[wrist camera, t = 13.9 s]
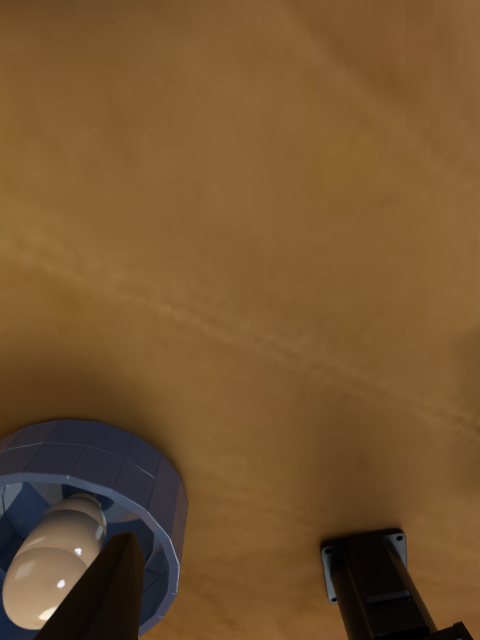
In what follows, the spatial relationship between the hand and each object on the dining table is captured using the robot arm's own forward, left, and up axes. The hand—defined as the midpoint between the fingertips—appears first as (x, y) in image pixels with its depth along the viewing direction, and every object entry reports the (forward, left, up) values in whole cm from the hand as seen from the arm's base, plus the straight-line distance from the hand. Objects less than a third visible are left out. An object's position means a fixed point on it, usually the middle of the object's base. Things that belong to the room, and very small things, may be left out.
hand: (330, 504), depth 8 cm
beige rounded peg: (-11, +14, -13) cm, 22 cm away
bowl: (-11, +14, -13) cm, 22 cm away
